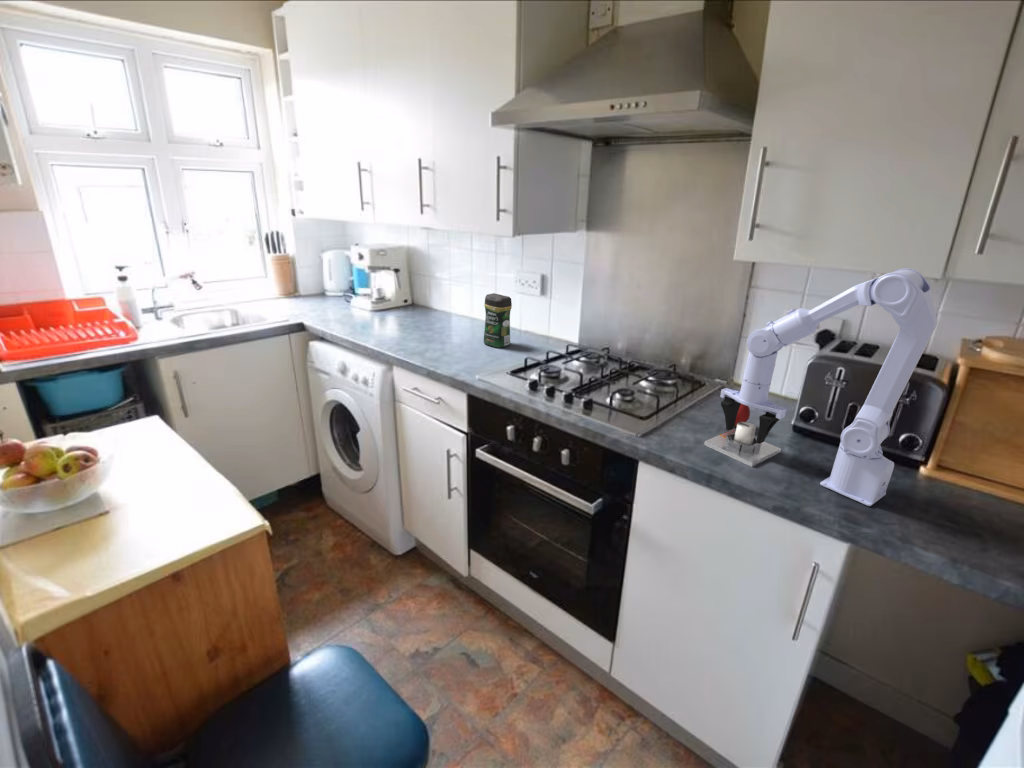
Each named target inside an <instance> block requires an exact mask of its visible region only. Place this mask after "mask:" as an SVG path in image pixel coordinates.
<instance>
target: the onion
mask: <svg viewBox="0 0 1024 768" xmlns="http://www.w3.org/2000/svg"><path fill="white" fill-rule="evenodd" d="M750 416H751V410H750V407H749V406H746V405H744V404H741V405H740V407H739V410H738V413H737V416H736V421H735V426H734V427H737V423H738V422H747V421H748V420H749V419H750Z"/></svg>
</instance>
